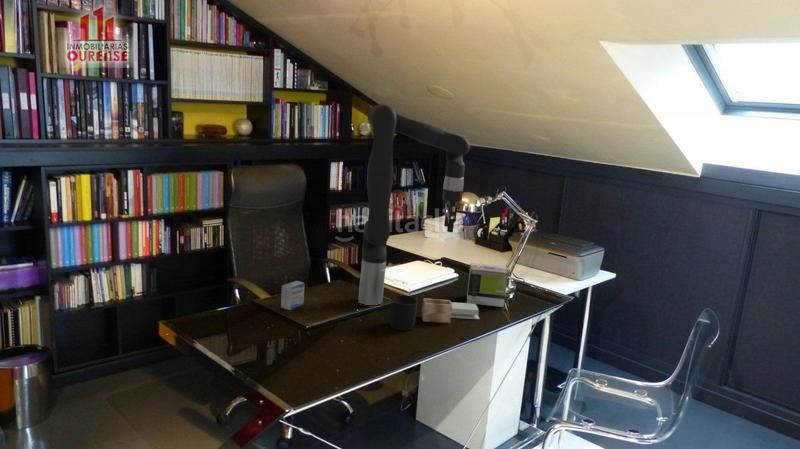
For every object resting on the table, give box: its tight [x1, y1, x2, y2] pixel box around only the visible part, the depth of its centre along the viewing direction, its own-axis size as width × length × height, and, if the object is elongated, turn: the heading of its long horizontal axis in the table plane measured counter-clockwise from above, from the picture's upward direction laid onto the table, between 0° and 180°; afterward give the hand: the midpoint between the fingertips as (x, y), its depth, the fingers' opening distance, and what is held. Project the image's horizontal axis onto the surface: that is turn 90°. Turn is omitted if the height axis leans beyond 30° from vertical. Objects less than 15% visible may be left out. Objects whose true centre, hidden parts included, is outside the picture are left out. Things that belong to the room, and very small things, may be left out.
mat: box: [451, 313, 480, 320], centre depth 230 cm, size 12×8×1 cm, turn 94°
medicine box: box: [280, 280, 306, 311], centre depth 221 cm, size 8×4×9 cm, turn 150°
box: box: [421, 298, 452, 324], centre depth 222 cm, size 10×5×7 cm, turn 94°
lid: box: [451, 301, 480, 316], centre depth 230 cm, size 11×6×3 cm, turn 94°
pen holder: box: [389, 294, 419, 332], centre depth 213 cm, size 9×9×10 cm
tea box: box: [466, 262, 509, 308], centre depth 245 cm, size 15×10×15 cm, turn 84°
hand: (448, 229), depth 235 cm, fingers open, 8 cm apart
